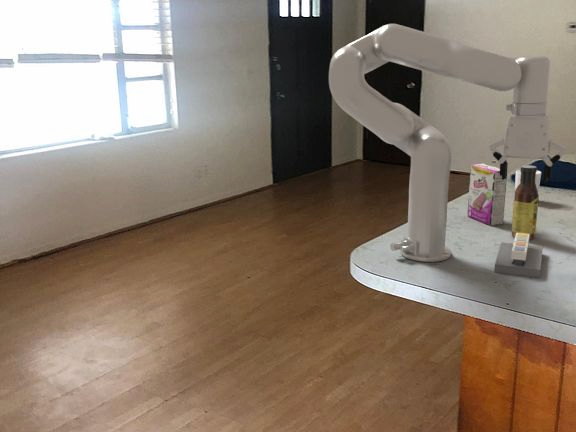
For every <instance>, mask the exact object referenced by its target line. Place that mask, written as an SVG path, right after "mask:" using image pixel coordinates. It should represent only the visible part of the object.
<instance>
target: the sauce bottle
mask: <svg viewBox="0 0 576 432" xmlns="http://www.w3.org/2000/svg"><path fill="white" fill-rule="evenodd" d="M520 169H521V170H520ZM520 169H519V170H520V171H521V179H520V182H521V183H520V184H519V185H518V187H517V188H516V190H515V189H514V199H513V209H512V218H511V219H512V220H511V221H512V222H511V231H512V232H511V237H512V238H514V239H515V235H516V233H526V234H530V235H529V240H533V239H534V238H535V235H536V232H537V220H538V218H537V217H538V210H539V209H538V208H539V199H540V198H539V196H540V195H539V190H538V191H537V187H536V184H535V176H536V172H537V171H538V167H537V166H535V165H529V164H527V165H521V166H520Z"/></svg>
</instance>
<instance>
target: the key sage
mask: <svg viewBox="0 0 576 432" xmlns="http://www.w3.org/2000/svg"><path fill="white" fill-rule="evenodd" d="M514 242H523V243H528V242H529V243H530V239H529V238H521V237H515V238H514V239H513V243H514ZM529 243H528V244H529ZM527 249H528V248H527Z"/></svg>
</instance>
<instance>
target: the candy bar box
mask: <svg viewBox="0 0 576 432" xmlns="http://www.w3.org/2000/svg"><path fill="white" fill-rule="evenodd" d="M507 173H508V170H507ZM507 181H508V176H507V177H506V179H504V180H502V176H501V175H500V167H496V166H492V165H488V164H486V163H477V164H471V165H470V171H469V189H468V200H467V201H468V204H467V206H468V207H467V215H466V216H467V218H468V217H469V218H471V219H474V220H476V221H479V222H480V223H483V224H485V225H487V226H490V227H492V226H499V225H503V224H504V215H505V204H506V203H505V202H506V192H507Z"/></svg>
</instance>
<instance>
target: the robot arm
mask: <svg viewBox="0 0 576 432" xmlns="http://www.w3.org/2000/svg"><path fill="white" fill-rule="evenodd" d="M389 62H391V63H395V64H398V65H400V66H401V65H402V66H405V67H408V68H412V69H416V70H419V71H423V72H425V73H429V74H433V75H436V76H439V77H443V78H444V77H445V78H449V79H450V78H451V79H455V80H458V81H463V82H467V83H469V84H472V85H477V86H480V87H484V88H487V89H490V90H493V91H497V92H507V91H511V90H512V89H513V98H512V103H510V104H506V105H505V106H506V108H505V110H506V111H510V112H511V114H510V115H508V117H507V119H506V126H505V133H504V137H503V139H500V140H498V141H495V142H493V143H491V144H489V149H490V151H491V153H492V156H493V157H494V158H495V159H496V161H498V163H499V168H500V175H501V176H502V180H504V179H506V177H507V178H508V172H507V171H508V165H509V163H508V161H507V160H508V159H509V158H515V159H530V160H531V159H532V160H534V159H537V160H540V159H541V160H542V161H543V162H544V163H545V165H544V169H543V180H542V181H543V183H547V182H548V181H549V179H550V180H551V178H552V171H553V165H555V164H556V163H557V162H558V161H559V160H560V159H561V157H562V156H563V155H564V153H565V152H566V150H567V148H566V146H564V145H561V143H558V142H556V141H554V140H553V139H551V124H550V123H551V122H550V116H549V115H548V114H547V108H548V107H547V105H548V92H549V90H548V89H549V79H550V64H551V63H550V62H551V61H550V59H549V58H548V56H545V55H527V56H526V55H525V56H521V57H509V56H503V55H500V54H497V53H494V52H490V51H487V50H484V49H480V48H476V47H473V46H469V45H466V44H463V43H461V42H458V41H456V40H453V39H450V38H447V37H443V36H440V35H437V34H432V33H430V32H429V33H428V32H425V31H422V30H418V29H415V28H413V27H412V28H411V27H408V26H404V25H400V24H397V23H388V24H385V25H382V26H380V27H379V28H376V29H375V30H373V31H372V32H370V33H368V34H367V35H364V36H363V37H360V38H359V39H356V40H355V41H352V42H351V43H348V44H347V45H345V46H342V47H341V48H339V49H338V50H337V51H336V52H334V54H333V55H332V57H331V59H330V62H329V68H328V69H329V70H328V86H329V90H330V93H331V96H332V98H333V101H334V102H335V103H336V104H337V105H338V107H339V108H340V109H341V110H342V111H344V113H346V114H347V115H349V116H350V117H352V118H353V119H354V120H355V121H357V122H358V123H359V124H361V125H362V126H363V127H365V128H366V129H367V130H369V131H370V132H372V133H373V134H375V135H376V136H377V137H378V138H379V139H381V140H382V141H383V142H385V143H386V144H390V145H394V147H396V148H398V149H399V150H401V151H403V152H404V153H405V154H407V156H409V157H410V173H409V186H408V208H407V209H408V213H407V214H408V215H407V235H405V236H403V240H401V241H399V242H391V243H390V246H389V247H390V250H391V251H392V252H394V251H399V250H400V254H401V255H402V256H403V257H405V258H406V259H409V260H412V261H416V262H425V263H434V262H441V261H445V260H448V259H449V258H451V256H452V251H451V249H450V248H449V247H448V246H446V235H447V217H448V216H447V215H448V200H449V198H448V197H449V185H450V184H449V183H450V181H449V180H450V173H451V166H452V158H453V153H452V152H453V150H452V146H451V143H450V141H449V140H448V138H447V137H446V136H445V135H444V134H443V133H442V132H441V131H440V130H439V129H438V128H436V127H434V126H433V125H431V124H430V123H428V121H426V120H424V119H423V118H422V117H421V116H419V115H417V114H416V113H415V112H414V111H412V110H410V109H409V108H407V107H406V106H405V105H403V104H401V103H398V102H393V101H392V100H390V99H388V98H387V97H386V96H384V95H383V94H381V93H380V92H379V91H377V90H376V89H375V88H373V87H372V86H371V85H369V84H368V82H367V81H366V79H365V75H366V74H368V73H370V72H372V71H374V70H375V69H377V68H380V67H381V66H383V65H385V64H387V63H389ZM501 146H503V150H502V151H503V155H502V154H501V152H500V151H499V150H498V148H499V147H501ZM551 148H552V149H554V150H557V152H556V154H555V155H554V156H553V157H551V156H550V154H549V153H550V149H551Z"/></svg>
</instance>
